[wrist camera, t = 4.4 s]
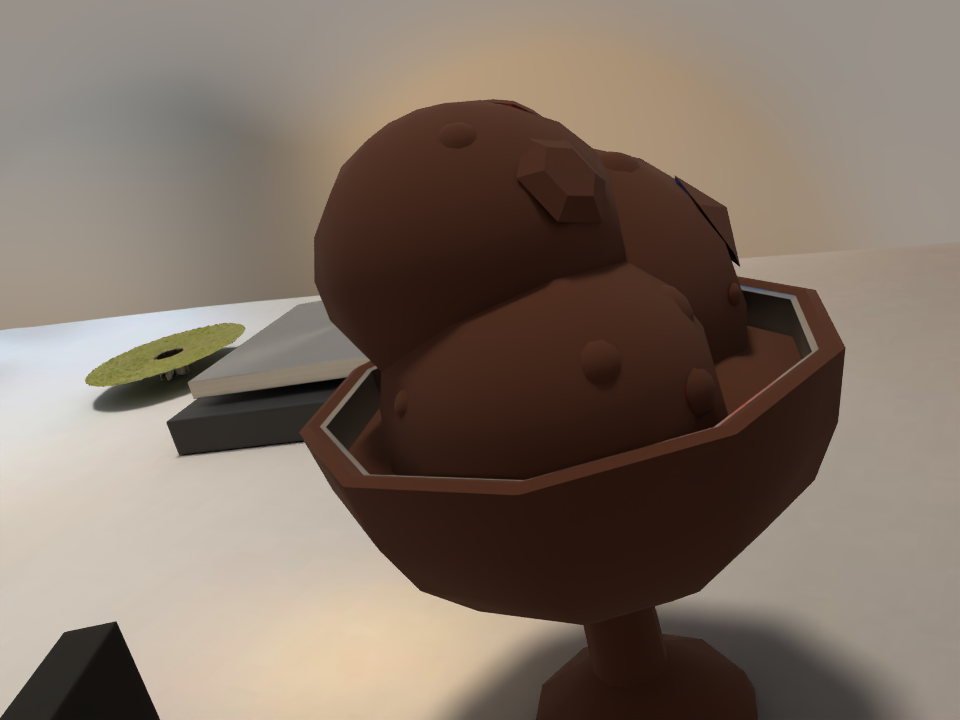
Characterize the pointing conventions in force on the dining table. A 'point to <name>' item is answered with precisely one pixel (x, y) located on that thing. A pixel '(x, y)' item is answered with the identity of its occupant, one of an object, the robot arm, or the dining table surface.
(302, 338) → the scale pan
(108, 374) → the mat
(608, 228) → the ice cream bowl
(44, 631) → the dining table surface
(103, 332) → the dining table surface
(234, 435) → the scale
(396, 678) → the dining table surface
